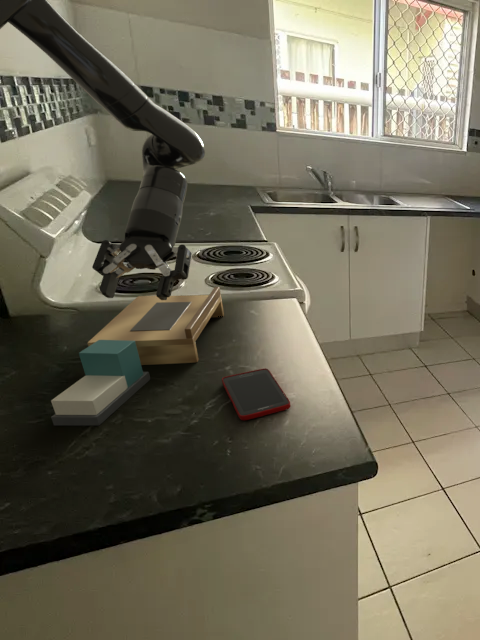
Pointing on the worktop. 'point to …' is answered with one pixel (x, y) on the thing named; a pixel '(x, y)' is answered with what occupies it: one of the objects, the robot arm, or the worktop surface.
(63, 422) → the trainer
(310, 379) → the worktop surface
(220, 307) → the shoe shelf
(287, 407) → the cell phone
